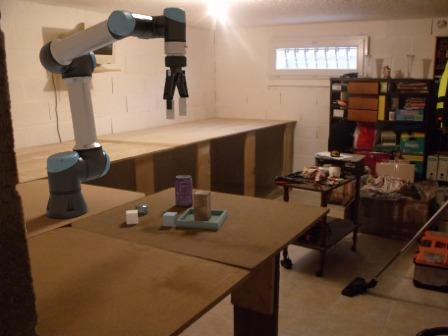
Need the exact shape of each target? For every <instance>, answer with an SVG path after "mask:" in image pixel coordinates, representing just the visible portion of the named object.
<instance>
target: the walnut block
mask: <svg viewBox="0 0 448 336" xmlns="http://www.w3.org/2000/svg"><path fill="white" fill-rule="evenodd" d="M193 208H194V221H209V220H210V219H211V209H212V193H211V190H196V191H195V192H193Z"/></svg>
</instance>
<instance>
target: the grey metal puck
mask: <svg viewBox="0 0 448 336" xmlns="http://www.w3.org/2000/svg"><path fill="white" fill-rule="evenodd" d="M134 210H138V216H144V214H145V215H148V214H149V211H150V210H149V205H148V204H147V203H139V204H135V206H134Z"/></svg>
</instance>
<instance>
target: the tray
mask: <svg viewBox="0 0 448 336" xmlns="http://www.w3.org/2000/svg"><path fill="white" fill-rule="evenodd" d="M227 218H228V209H216V208H215V209H212V208H211V219H210V220H209V221H194V207H190V208H189V207H188V208H187V209H186V210H185V211H184V212H183V213H182V214H181V215H180V216H179V217H178V219H177V220H176V225H175V226H176V228H182V227H183V229H184V227H185V228H186V229H199V230H215V231H217V230H219V229H220V228H221V226H223V224H224V222H225V220H226V219H227Z"/></svg>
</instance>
